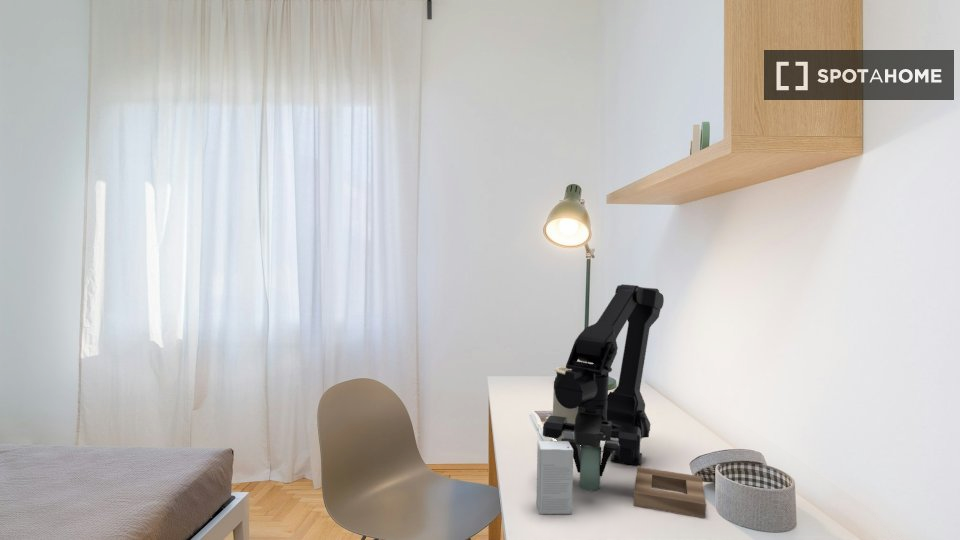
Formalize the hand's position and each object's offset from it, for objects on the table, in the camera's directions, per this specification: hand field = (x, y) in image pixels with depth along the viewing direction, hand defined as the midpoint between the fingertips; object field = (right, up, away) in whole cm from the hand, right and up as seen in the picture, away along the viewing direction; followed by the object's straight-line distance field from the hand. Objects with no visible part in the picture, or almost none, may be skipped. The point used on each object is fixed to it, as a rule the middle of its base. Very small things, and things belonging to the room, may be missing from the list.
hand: (590, 473), depth 110 cm
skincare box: (-9, -3, -10) cm, 13 cm away
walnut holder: (+14, -3, -4) cm, 15 cm away
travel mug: (-1, -1, +23) cm, 23 cm away
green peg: (0, -3, 0) cm, 2 cm away
